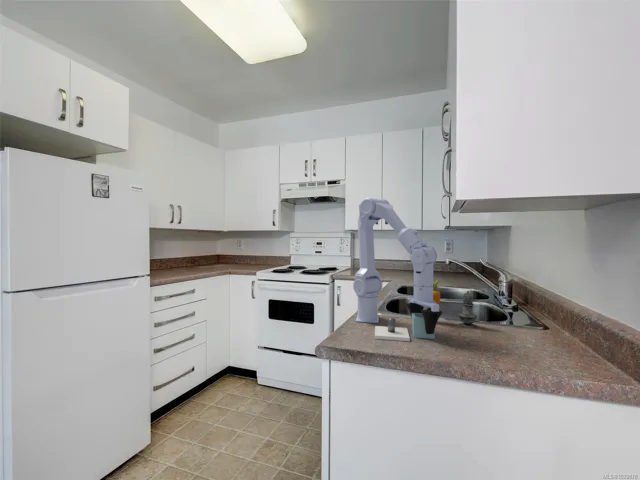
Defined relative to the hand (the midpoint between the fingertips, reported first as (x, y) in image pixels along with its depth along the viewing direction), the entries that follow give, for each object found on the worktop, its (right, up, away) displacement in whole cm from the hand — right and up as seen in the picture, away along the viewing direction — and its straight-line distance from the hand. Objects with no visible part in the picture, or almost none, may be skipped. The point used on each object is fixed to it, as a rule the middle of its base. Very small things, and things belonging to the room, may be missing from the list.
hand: (422, 329), depth 94 cm
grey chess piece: (+19, -2, +10) cm, 22 cm away
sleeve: (0, -2, 0) cm, 2 cm away
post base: (-10, -2, 0) cm, 10 cm away
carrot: (+9, -2, +15) cm, 17 cm away
